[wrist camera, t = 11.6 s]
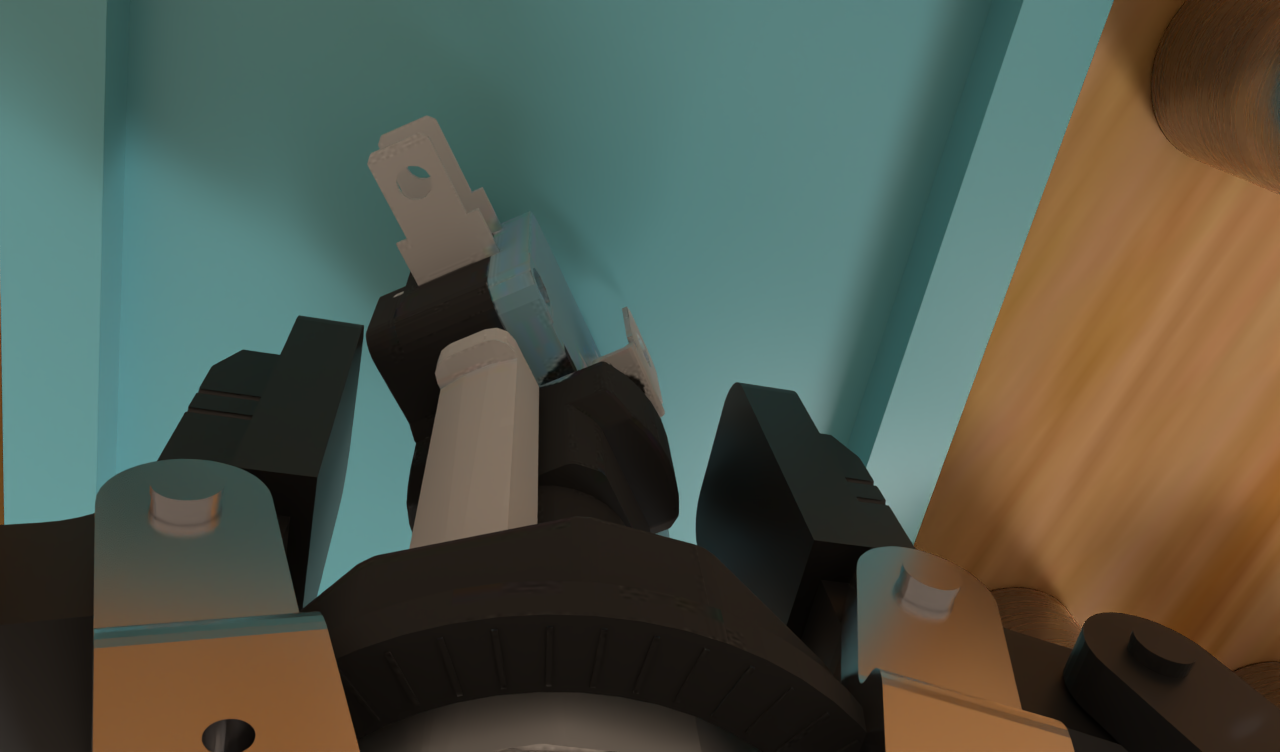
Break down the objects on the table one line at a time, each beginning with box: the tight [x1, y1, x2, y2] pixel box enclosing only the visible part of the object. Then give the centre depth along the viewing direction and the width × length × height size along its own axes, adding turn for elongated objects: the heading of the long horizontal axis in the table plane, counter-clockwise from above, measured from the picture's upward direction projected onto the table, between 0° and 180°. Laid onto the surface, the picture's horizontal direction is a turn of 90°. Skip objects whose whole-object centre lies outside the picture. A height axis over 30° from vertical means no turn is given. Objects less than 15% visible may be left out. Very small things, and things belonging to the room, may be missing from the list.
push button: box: [299, 115, 867, 752], centre depth 11 cm, size 7×5×10 cm
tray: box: [0, 0, 1114, 597], centre depth 16 cm, size 13×15×2 cm
